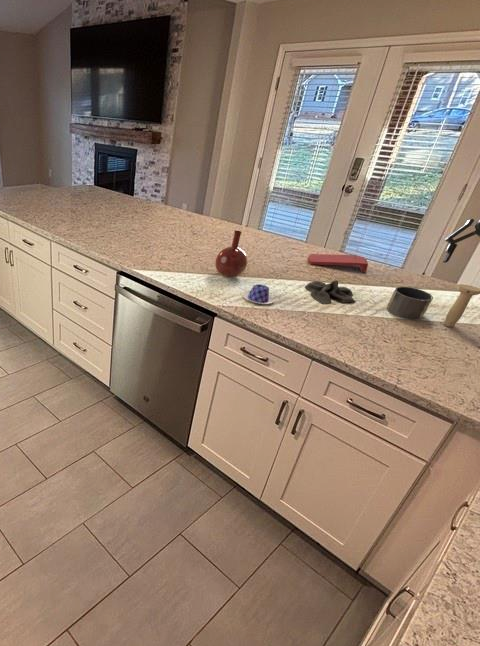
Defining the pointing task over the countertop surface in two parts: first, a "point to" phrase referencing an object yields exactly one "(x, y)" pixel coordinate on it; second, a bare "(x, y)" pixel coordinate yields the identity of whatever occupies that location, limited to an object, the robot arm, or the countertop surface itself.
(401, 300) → the canister
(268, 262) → the countertop surface
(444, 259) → the robot arm
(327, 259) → the red bent slab
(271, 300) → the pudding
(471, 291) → the handle
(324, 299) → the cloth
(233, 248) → the round-bottom flask
